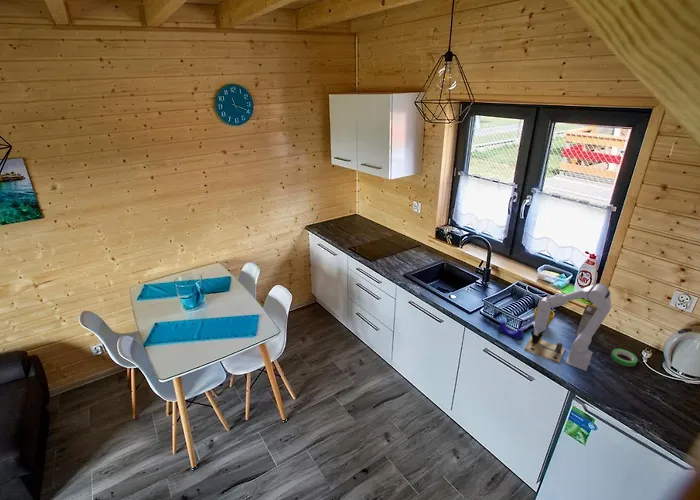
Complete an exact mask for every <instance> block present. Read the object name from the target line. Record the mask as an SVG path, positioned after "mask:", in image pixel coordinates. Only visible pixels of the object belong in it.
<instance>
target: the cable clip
mask: <svg viewBox="0 0 700 500" xmlns="http://www.w3.org/2000/svg"><path fill="white" fill-rule="evenodd" d="M498 330H499V331H498V332H500V330H502V332H501V333H503V332H504V333H503V334H505V333H506V334H505V335H507V334H508V336H510V337H512V336H513V337H512V338H514V337H515V338H514V339H516V337H517V336H518V337H519V338H518V339H517V340H519V339H520V338H521V339H522V338H523V336H524V328H523V327H520V328H519V329H518V331H512V330H511V329H509V328H508V326H507V325H506V321H505V319H501V321H500V323H499V326H498ZM521 339H520V340H521Z"/></svg>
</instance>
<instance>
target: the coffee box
mask: <svg viewBox="0 0 700 500" xmlns="http://www.w3.org/2000/svg"><path fill="white" fill-rule="evenodd" d="M596 311H597V307H596V306H594V305H590V304H586V305H585V308H584V310H583V311H582V316H581V320H580V321H579V322H580V323H579V325H578V327H577V328H578V329H577V331H576V336H578V335H579V334H580V333H582V332H583V331H584V329H585V328H586V326H587V324H588V323H589V321H590V320H591V318H592V317H593V315H594V314H595V312H596Z"/></svg>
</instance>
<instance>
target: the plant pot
mask: <svg viewBox="0 0 700 500" xmlns="http://www.w3.org/2000/svg"><path fill="white" fill-rule="evenodd" d="M538 308H539V307H538V306H537V307H535V309H534V312H533V316H534V320H535V319H536V315H537V311H538ZM554 318H555V312H554V311H553V310H552V309H551V310H550V315H549V318H548V322H547V328H548V327H549V325H550V323H551V322H552V321H553V320H554Z"/></svg>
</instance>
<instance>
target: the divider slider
mask: <svg viewBox="0 0 700 500" xmlns="http://www.w3.org/2000/svg"><path fill="white" fill-rule="evenodd" d="M539 334H542V335H544V332H543V333H541V332H540V333H539ZM541 340H543V336H542V337H541V338H540V339H539V341H538V343H537V344H538V345H539V344H540V342H541ZM531 342H532V341H531ZM534 346H535V344H534V345H533V347H532V349H534Z"/></svg>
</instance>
